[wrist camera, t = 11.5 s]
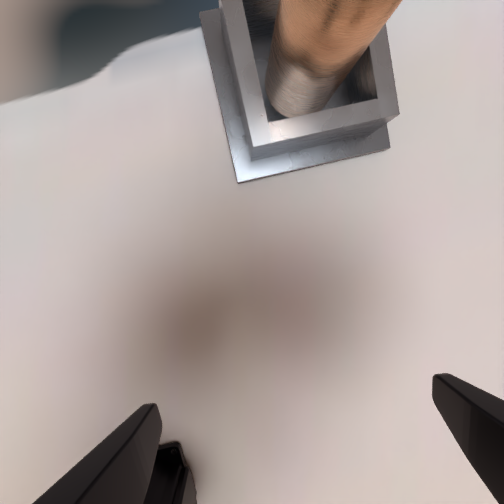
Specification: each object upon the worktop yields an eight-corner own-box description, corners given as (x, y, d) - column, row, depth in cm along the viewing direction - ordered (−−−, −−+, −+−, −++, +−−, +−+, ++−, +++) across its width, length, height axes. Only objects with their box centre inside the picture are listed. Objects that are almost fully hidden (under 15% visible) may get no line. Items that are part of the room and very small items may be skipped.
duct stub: (238, 183, 20) (237, 172, 16) (200, 19, 19) (189, -39, 15) (386, 150, 20) (422, 130, 16) (359, -15, 19) (391, -80, 15)
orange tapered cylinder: (290, 133, 19) (394, -48, 6) (251, 74, 19) (277, -257, 6) (345, 92, 19) (565, -179, 6) (307, 31, 18) (462, -407, 6)
